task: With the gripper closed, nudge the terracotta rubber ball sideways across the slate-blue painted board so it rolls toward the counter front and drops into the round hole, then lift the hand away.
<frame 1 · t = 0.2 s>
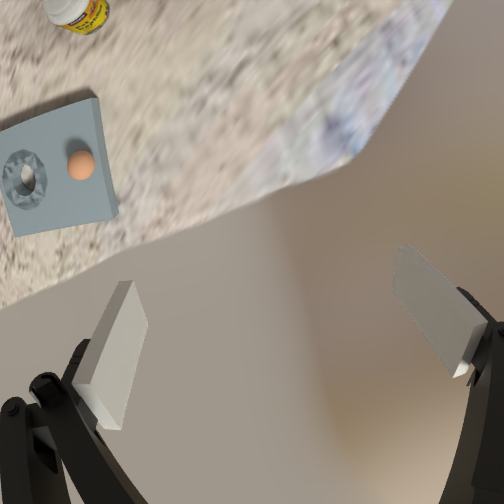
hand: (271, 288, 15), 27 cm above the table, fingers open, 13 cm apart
ball: (80, 165, 33), point 4 cm above the table, touching board
board: (52, 169, 36), on the table
supplement bottle: (93, 17, 28), on the table
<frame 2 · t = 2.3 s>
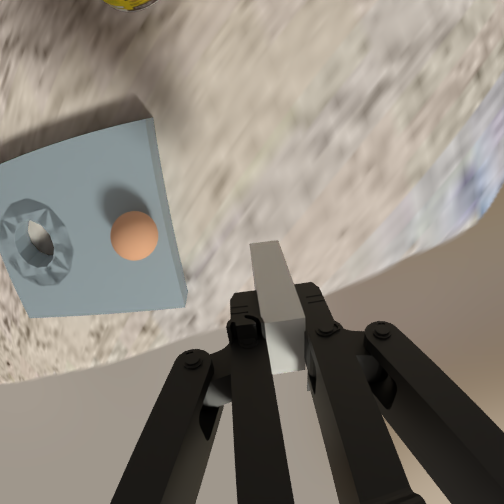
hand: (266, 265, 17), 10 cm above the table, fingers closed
ball: (134, 235, 22), point 4 cm above the table, touching board
board: (78, 227, 26), on the table
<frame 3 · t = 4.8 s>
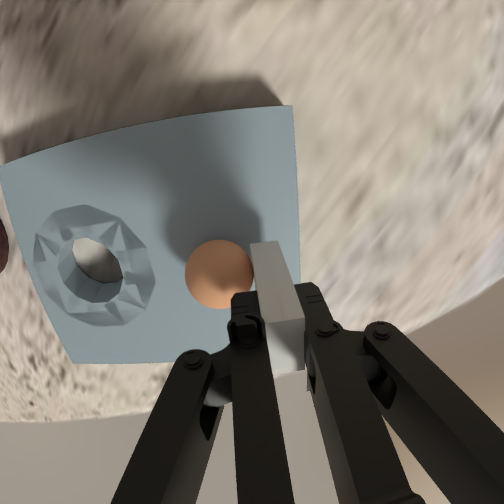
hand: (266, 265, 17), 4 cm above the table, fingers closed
ball: (219, 274, 16), point 4 cm above the table, tilted 74°, touching board, gripper
board: (154, 247, 20), on the table
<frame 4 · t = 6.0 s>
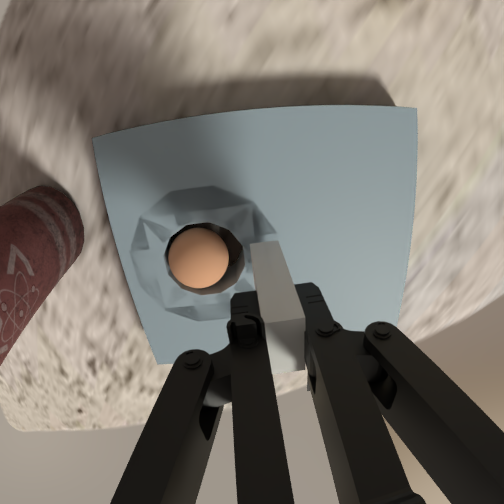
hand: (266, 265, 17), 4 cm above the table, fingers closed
ball: (198, 257, 19), point 2 cm above the table, tilted 22°
board: (268, 235, 20), on the table
can: (51, 223, 19), on the table
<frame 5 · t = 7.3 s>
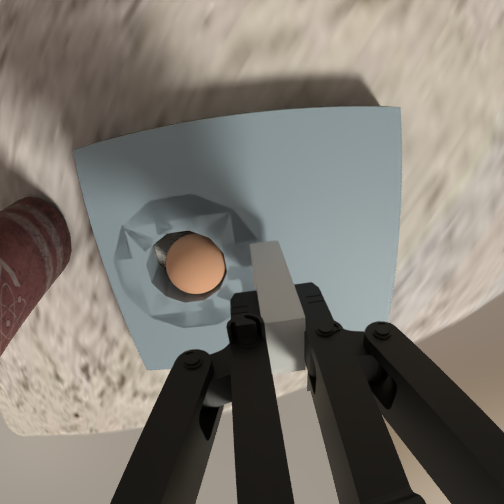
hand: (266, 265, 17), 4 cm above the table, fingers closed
ball: (195, 263, 19), point 2 cm above the table, tilted 7°
board: (251, 241, 20), on the table
can: (40, 232, 19), on the table
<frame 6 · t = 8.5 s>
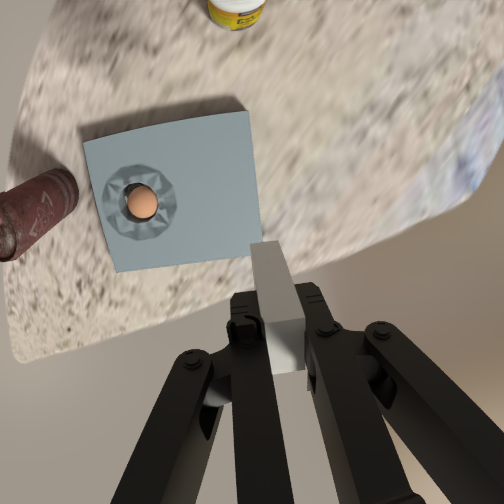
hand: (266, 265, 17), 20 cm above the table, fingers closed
ball: (143, 201, 33), point 2 cm above the table, tilted 6°
board: (176, 191, 35), on the table
supplement bottle: (235, 11, 27), on the table
can: (60, 190, 33), on the table
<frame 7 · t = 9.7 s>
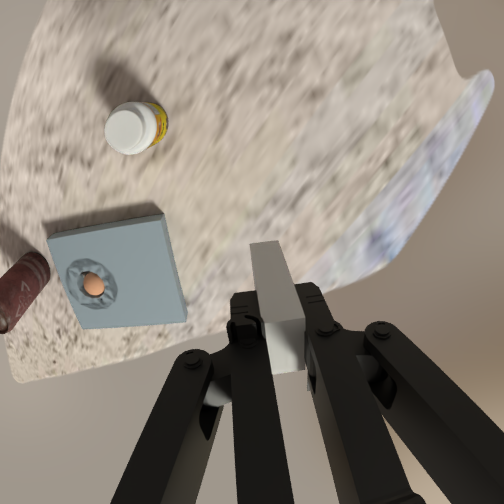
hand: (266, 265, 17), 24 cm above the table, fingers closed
ball: (94, 283, 42), point 2 cm above the table
board: (118, 273, 44), on the table
supplement bottle: (148, 123, 35), on the table
can: (37, 266, 42), on the table
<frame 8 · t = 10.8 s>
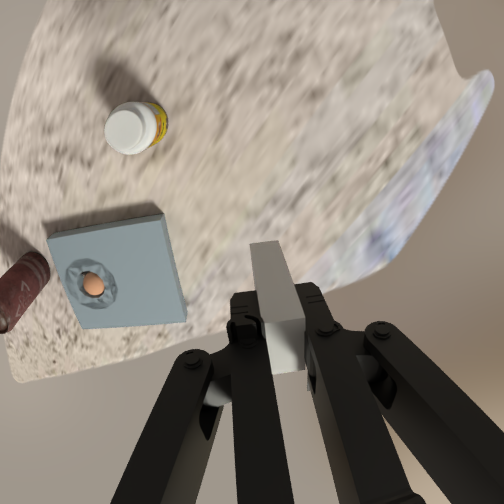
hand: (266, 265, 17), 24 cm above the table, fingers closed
ball: (94, 282, 42), point 2 cm above the table
board: (118, 273, 44), on the table
supplement bottle: (148, 123, 35), on the table
can: (36, 266, 42), on the table
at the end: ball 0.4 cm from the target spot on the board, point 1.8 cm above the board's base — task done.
